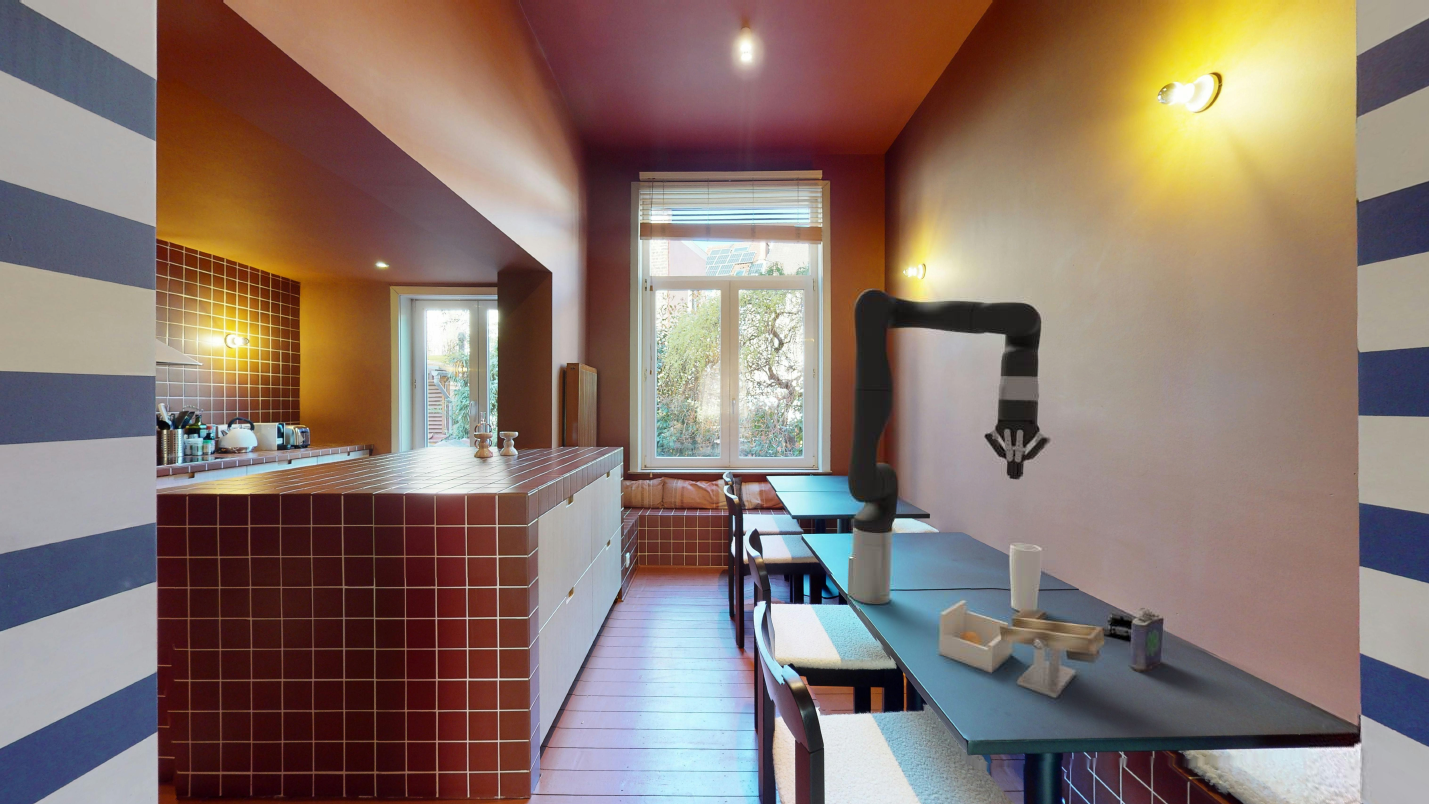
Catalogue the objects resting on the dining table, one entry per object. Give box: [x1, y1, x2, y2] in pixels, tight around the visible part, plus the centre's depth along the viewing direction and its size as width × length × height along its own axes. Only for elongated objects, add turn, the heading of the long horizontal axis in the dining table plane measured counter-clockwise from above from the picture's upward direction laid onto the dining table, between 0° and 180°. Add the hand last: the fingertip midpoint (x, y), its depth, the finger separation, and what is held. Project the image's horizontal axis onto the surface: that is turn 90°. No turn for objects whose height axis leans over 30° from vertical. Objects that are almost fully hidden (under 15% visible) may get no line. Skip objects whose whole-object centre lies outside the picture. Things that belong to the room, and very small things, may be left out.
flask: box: [1129, 607, 1164, 673], centre depth 108 cm, size 9×3×11 cm, turn 121°
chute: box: [1000, 609, 1105, 664], centre depth 103 cm, size 15×13×4 cm
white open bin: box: [938, 600, 1013, 674], centre depth 110 cm, size 10×11×8 cm
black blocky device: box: [1095, 612, 1134, 643], centre depth 121 cm, size 12×7×5 cm, turn 60°
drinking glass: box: [1009, 542, 1043, 612], centre depth 134 cm, size 7×7×15 cm
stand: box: [1016, 638, 1076, 699], centre depth 101 cm, size 6×12×9 cm, turn 134°
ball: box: [961, 631, 980, 645], centre depth 111 cm, size 4×4×4 cm
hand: (1014, 478), depth 121 cm, fingers closed
